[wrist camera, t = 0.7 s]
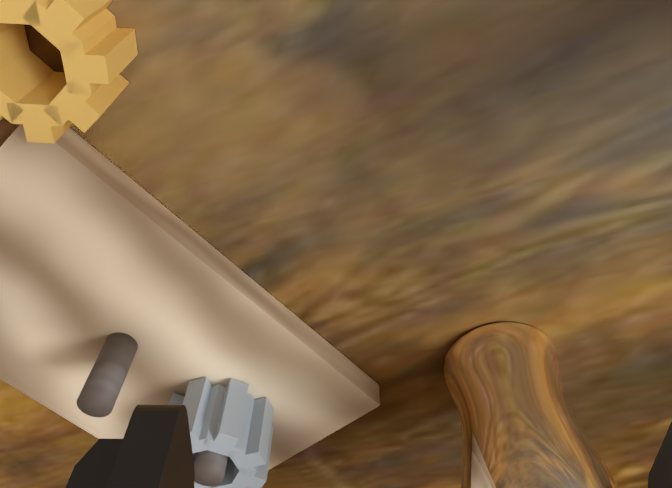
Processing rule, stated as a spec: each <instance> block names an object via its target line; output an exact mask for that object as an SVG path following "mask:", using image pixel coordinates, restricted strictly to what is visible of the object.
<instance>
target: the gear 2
mask: <svg viewBox="0 0 672 488" xmlns="http://www.w3.org/2000/svg"><path fill="white" fill-rule="evenodd" d="M248 386H249V384H246V383H243V382H240V381H237V380H234V379H230V381H229V383H228V385H227V387H226V386H223V385H220V384H218V385H214V386H212V385H211V384H210V382H209V381H208V379H207V377H205V378H201V379H196V380H192V381H189V384H188V387H187V390H186V394H185V396H183V395H179V394H176V393H173V394H172V396H171V399H170V401H169V403H168V405H185V406H186V409H187V414H188V422H189V429H190V437H191V445H192V453H193V460H194V462H195V458H196V454H197V452H201V451H206V450H209V451H212V452H215V453H218V454H222V455H225V456H228V460H227V465H226V470H225V475H224V480H223V482H222V483H220V484H219V485H216V486H204V485H200V484H198V483H197V482H194V488H246V487H248V488H262V486H263V485H264V483H265V482H266V480H267V473H268V465H269V458H270V450H271V442H272V434H273V427H274V425H272V418H273V410H274V409H273V408H272V406H271V404H270V402H269V401H268V399H267V397H265V398H261V399H257V400H254V399H253V397H252V395H250V394H247V392H248Z"/></svg>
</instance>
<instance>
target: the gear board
mask: <svg viewBox="0 0 672 488" xmlns="http://www.w3.org/2000/svg"><path fill="white" fill-rule="evenodd" d="M205 377H207V379H208V381H209V382H210V384H211V385H212V386H214V385H218V384H220V385H223V386H226V387H227V385H228V383H229V381H230V379H234V380H237V381H240V382H243V383H246V384H249V386H248V392H247V394H250V395H252V397H253V399H254V400H257V399H261V398H265V397H267V399H268V401H269V402H270V404H271V406H272V408H273V409H274V410H273V418H272V425H274V427H273V434H272V442H271V450H270V458H269V465H268V470H270V469H271V468H273V467H275V466H277V465H278V464H280V463H282V462H283V461H285V460H287V459H289V458H290V457H292V456H294V455H296V454H297V453H299V452H301V451H302V450H304V449H306V448H308V447H309V446H311V445H313V444H315V443H316V442H318V441H320V440H321V439H323V438H325V437H327V436H328V435H330V434H332V433H334V432H335V431H337V430H339V429H340V428H342V427H344V426H346V425H347V424H349V423H351V422H353V421H354V420H356V419H358V418H359V417H361V416H363V415H365V414H366V413H368V412H370V411H371V410H373V409H375V408H377V407H378V406H380V394H379V384H377V383H376V382H375V381H374V380H373V379H371V378H370V377H369V376H368V375H367V374H365V373H364V372H363V371H362V370H361V369H359V368H358V367H357V366H356V365H355V364H353V363H352V362H351V361H350V360H349V359H347V358H346V357H345V356H344V355H343V354H341V353H340V352H339V351H338V350H337V349H335V348H334V347H333V346H332V345H331V344H329V343H328V342H327V341H326V340H325V339H323V338H322V337H321V336H320V335H319V334H317V333H316V332H315V331H314V330H313V329H311V328H310V327H309V326H308V325H306V324H305V323H304V322H303V321H302V320H300V319H299V318H298V317H297V316H296V315H294V314H293V313H292V312H291V311H290V310H288V309H287V308H286V307H285V306H284V305H282V304H281V303H280V302H279V301H278V300H276V299H275V298H274V297H273V296H272V295H270V294H269V293H268V292H267V291H266V290H264V289H263V288H262V287H261V286H260V285H258V284H257V283H256V282H255V281H254V280H252V279H251V278H250V277H249V276H248V275H246V274H245V273H244V272H243V271H242V270H240V269H239V268H238V267H237V266H236V265H234V264H233V263H232V262H231V261H230V260H228V259H227V258H226V257H225V256H224V255H222V254H221V253H220V252H219V251H218V250H216V249H215V248H214V247H213V246H211V245H210V244H209V243H208V242H207V241H205V240H204V239H203V238H202V237H201V236H199V235H198V234H197V233H196V232H195V231H193V230H192V229H191V228H190V227H189V226H187V225H186V224H185V223H184V222H183V221H181V220H180V219H179V218H178V217H177V216H175V215H174V214H173V213H172V212H171V211H169V210H168V209H167V208H166V207H165V206H163V205H162V204H161V203H160V202H159V201H157V200H156V199H155V198H154V197H153V196H151V195H150V194H149V193H148V192H147V191H145V190H144V189H143V188H142V187H141V186H139V185H138V184H137V183H136V182H135V181H133V180H132V179H131V178H130V177H129V176H127V175H126V174H125V173H124V172H122V171H121V170H120V169H119V168H118V167H116V166H115V165H114V164H113V163H112V162H110V161H109V160H108V159H107V158H106V157H104V156H103V155H102V154H101V153H100V152H98V151H97V150H96V149H95V148H94V147H92V146H91V145H90V144H89V143H88V142H86V141H85V140H84V139H83V138H82V137H80V136H79V135H78V134H77V133H76V132H74V131H73V130H72V129H71V128H69V129H68V130H67V131H66V132H65V133H64V134H63V135H62V136H61V137H60V138H59V139H58V140H57V141H56V142H55V143H54V144H53V143H35V142H27V139H26V135H25V131H24V127H23V124H20V125H19V126H18V127H17V128H16V130H15V131H14V132H13V133H12V134H11V135H10V136H9V138H8V139H7V140H6V141H5V142H4V143H3V144H2V146H1V147H0V380H2V381H4V382H5V383H7V384H9V385H10V386H12V387H14V388H15V389H17V390H19V391H20V392H22V393H24V394H25V395H27V396H29V397H30V398H32V399H34V400H35V401H37V402H39V403H40V404H42V405H44V406H45V407H47V408H48V409H50V410H52V411H53V412H55V413H57V414H58V415H60V416H62V417H63V418H65V419H67V420H68V421H70V422H72V423H73V424H75V425H77V426H78V427H80V428H82V429H83V430H85V431H87V432H88V433H90V434H92V435H93V436H95V437H97V438H98V439H123V438H124V435H125V432H126V429H127V427H128V424H129V421H130V418H131V416H132V413H133V411H134V409H135V407H136V406H137V405H168V403H169V401H170V399H171V396H172V394H173V393H176V394H179V395H183V396H185V394H186V390H187V387H188V384H189V381H192V380H196V379H201V378H205ZM227 460H228V456H225V455H222V454H218V453H215V452H212V451H209V450H206V451H201V452H197V454H196V458H195V462H194V470H195V482H197V483H198V484H200V485H204V486H216V485H219V484H220V483H222V482H223V480H224V475H225V470H226V465H227Z"/></svg>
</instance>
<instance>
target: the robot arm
mask: <svg viewBox="0 0 672 488" xmlns="http://www.w3.org/2000/svg"><path fill="white" fill-rule="evenodd" d="M194 482H195V470H194V460H193V453H192V445H191V437H190V429H189V422H188V414H187V409H186V406H185V405H137V406H136V407H135V409H134V411H133V413H132V416H131V418H130V421H129V424H128V427H127V429H126V432H125V435H124V438H123V439H99V440H98V441H97V442H96V443H95V445H94V446H93V447H92V448H91V449H90V450H89V451H88V452H87V453H86V454H85V455H84V457H83V458H82V459H81V460H80V461H79V462H78V463H77V464H76V465H75V467H74V469H73V472H72V474H71V476H70V479H69V481H68V483H67V486H66V488H194ZM648 488H672V422H671V425H670V427H669V429H668V431H667V434H666V436H665V438H664V441H663V443H662V445H661V448H660V450H659V452H658V454H657V457H656V459H655V461H654V464H653V466H652V468H651V471H650V473H649V478H648Z"/></svg>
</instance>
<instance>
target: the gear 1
mask: <svg viewBox="0 0 672 488" xmlns="http://www.w3.org/2000/svg"><path fill="white" fill-rule="evenodd" d="M112 1H113V0H0V120H1V119H3V118H5V119H6V120H8V121H9V122H10V123H11V124H23V127H24V131H25V135H26V139H27V142H35V143H53V144H54V143H55V142H56V141H57V140H58V139H59V138H60V137H61V136H62V135H63V134H64V133H65V132H66V131H67V130H68V129H69V128H70V127H71V125H72V124H74V125H75V126H77V127H78V128H79V129H80V130H81V131H83V132H84V133H85V132H86V131H87V130H88V129H89V128H90V127H91V126H92V124H93V123H94V122H95V121H96V120H97V119H98V118H99V117H100V116H101V115H102V114H103V113H104V112H105V110H106V109H107V108H108V107H109V106H110V105H111V104H112V102H113V101H114V100H115V99H116V98H117V97H118V96H119V94H120V93H121V92H122V91H123V90H124V89H125V88H126V86H127V85H128V84H129V82H128V81H127V80H126V79H125V78H124V77H122V76H121V75H120V73H121V72H122V71H123V70H124V69H125V67H126V66H127V65H128V64H129V63H130V62H131V61H132V60H133V59H134V58H135V57H136V56H137V55H138V50H137V42H136V34H135V29H134V28H117V26H116V19H115V16H114V15H113V14H112V13H111V12H110V11H109V10H108V9H107V7H108V6H109V5H110V3H111V2H112ZM24 24H26V25H32V26H33V27H34V28H35V29H36V30H37V31H38V32H39V33H41V34H42V35H43V36H44V37H45V38H46V39H47V40H48V41H50V42H51V43H52V44H53V45H54V46H55V47H56V48H58V49H59V50H60V52H61V57H62V62H63V67H64V72H55V71H53V70H52V69H51V68H50V67H49V66H48V65H46V64H45V63H44V62H43V61H42V60H41V59H40V58H38V57H37V56H36V55H35V54H34V53H33V52H31V51H30V49H29V45H28V40H27V36H26V31H25V27H24Z"/></svg>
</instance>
